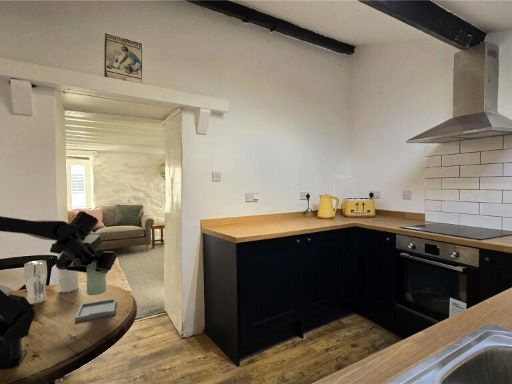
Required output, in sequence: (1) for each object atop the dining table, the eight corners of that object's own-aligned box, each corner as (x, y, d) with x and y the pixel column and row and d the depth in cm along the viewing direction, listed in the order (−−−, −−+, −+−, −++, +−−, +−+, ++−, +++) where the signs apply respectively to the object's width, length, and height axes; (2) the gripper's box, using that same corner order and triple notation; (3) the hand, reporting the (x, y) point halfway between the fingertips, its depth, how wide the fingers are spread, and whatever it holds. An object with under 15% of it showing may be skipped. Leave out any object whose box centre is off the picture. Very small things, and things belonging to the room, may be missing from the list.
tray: (114, 315, 94) (114, 310, 94) (75, 322, 89) (74, 317, 89) (116, 302, 104) (116, 298, 104) (81, 307, 100) (81, 303, 100)
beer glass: (35, 305, 102) (33, 265, 102) (19, 304, 103) (18, 264, 103) (52, 298, 109) (51, 260, 108) (37, 296, 110) (36, 259, 110)
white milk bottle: (80, 286, 122) (78, 229, 121) (76, 291, 115) (74, 232, 114) (61, 288, 119) (59, 230, 118) (56, 294, 112) (54, 233, 112)
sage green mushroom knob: (106, 293, 95) (105, 259, 95) (83, 297, 93) (83, 261, 92) (108, 287, 102) (107, 255, 101) (86, 290, 99) (86, 257, 99)
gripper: (113, 228, 92) (132, 253, 103) (61, 227, 94) (85, 252, 105) (97, 257, 84) (119, 281, 95) (42, 256, 86) (70, 279, 97)
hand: (98, 272), depth 98 cm, fingers closed on sage green mushroom knob, 6 cm apart
